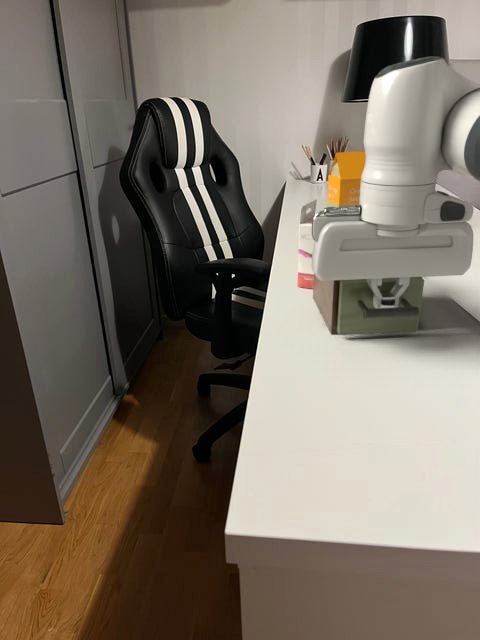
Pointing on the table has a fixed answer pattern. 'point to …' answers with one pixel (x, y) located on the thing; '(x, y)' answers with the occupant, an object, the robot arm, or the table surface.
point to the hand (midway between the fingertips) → (385, 307)
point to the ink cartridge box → (306, 246)
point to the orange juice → (345, 179)
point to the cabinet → (327, 301)
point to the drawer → (366, 319)
